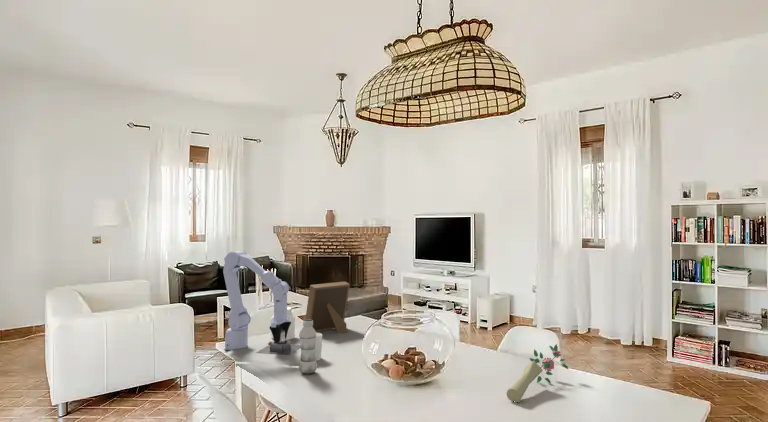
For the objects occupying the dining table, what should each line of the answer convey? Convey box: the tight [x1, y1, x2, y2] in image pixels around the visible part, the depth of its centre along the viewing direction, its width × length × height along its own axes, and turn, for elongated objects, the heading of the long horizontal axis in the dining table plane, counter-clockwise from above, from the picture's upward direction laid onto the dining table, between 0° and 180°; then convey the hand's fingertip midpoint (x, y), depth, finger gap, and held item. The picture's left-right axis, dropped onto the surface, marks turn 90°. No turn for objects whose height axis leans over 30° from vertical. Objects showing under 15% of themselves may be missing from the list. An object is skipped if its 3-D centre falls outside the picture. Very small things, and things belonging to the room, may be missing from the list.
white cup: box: [315, 332, 323, 361], centre depth 205 cm, size 8×8×10 cm
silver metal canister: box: [276, 330, 285, 344], centre depth 215 cm, size 4×4×8 cm
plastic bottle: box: [298, 319, 318, 375], centre depth 186 cm, size 6×7×20 cm
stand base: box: [255, 339, 301, 356], centre depth 215 cm, size 16×16×4 cm
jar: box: [270, 306, 296, 341], centre depth 237 cm, size 12×10×15 cm
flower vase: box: [506, 343, 569, 403], centre depth 170 cm, size 12×12×35 cm
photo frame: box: [304, 281, 351, 334], centre depth 252 cm, size 15×22×25 cm
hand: (280, 340), depth 215 cm, fingers open, 6 cm apart
